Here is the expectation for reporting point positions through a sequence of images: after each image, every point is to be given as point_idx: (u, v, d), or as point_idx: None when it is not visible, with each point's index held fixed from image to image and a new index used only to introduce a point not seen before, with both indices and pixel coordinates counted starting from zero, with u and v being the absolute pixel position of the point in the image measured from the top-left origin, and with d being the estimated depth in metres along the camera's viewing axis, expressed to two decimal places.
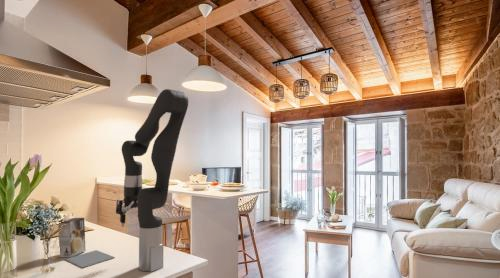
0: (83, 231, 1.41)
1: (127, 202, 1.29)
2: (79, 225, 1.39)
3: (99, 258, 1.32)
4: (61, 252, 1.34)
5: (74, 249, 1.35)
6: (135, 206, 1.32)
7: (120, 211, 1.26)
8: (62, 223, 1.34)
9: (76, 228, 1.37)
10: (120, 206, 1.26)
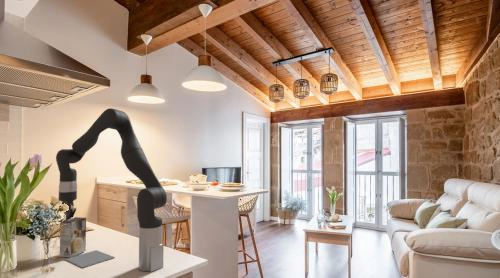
0: (84, 231, 1.41)
1: None
2: (81, 225, 1.39)
3: (99, 258, 1.32)
4: (61, 251, 1.34)
5: (74, 249, 1.35)
6: None
7: None
8: (64, 223, 1.34)
9: (78, 228, 1.37)
10: None
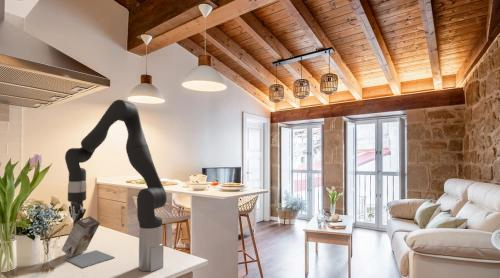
0: (93, 234, 1.40)
1: None
2: (92, 230, 1.37)
3: (99, 258, 1.32)
4: (65, 247, 1.34)
5: (77, 250, 1.35)
6: None
7: None
8: (79, 224, 1.32)
9: (88, 233, 1.35)
10: None
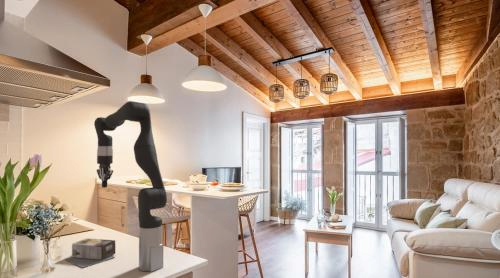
0: None
1: None
2: None
3: None
4: (76, 247, 1.33)
5: None
6: None
7: None
8: (101, 251, 1.30)
9: None
10: None
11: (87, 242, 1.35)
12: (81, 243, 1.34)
